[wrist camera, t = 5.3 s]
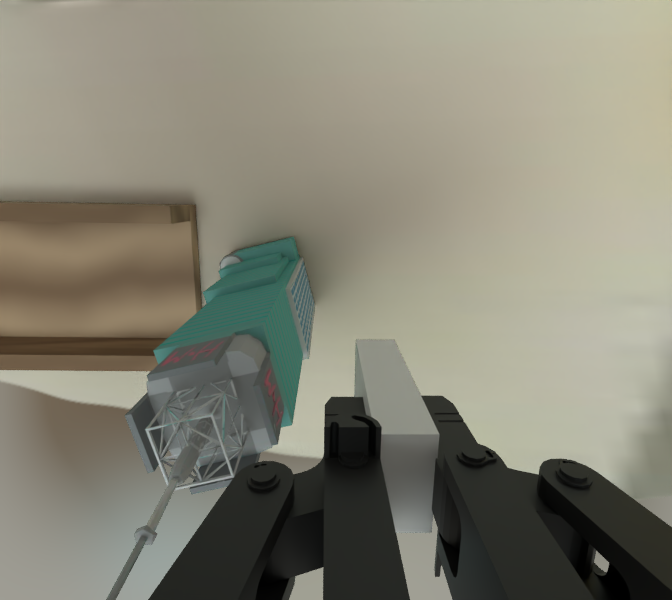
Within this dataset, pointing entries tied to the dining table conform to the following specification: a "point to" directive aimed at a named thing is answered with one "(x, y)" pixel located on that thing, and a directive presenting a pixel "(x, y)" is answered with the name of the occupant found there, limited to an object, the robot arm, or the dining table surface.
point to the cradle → (94, 283)
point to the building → (225, 377)
